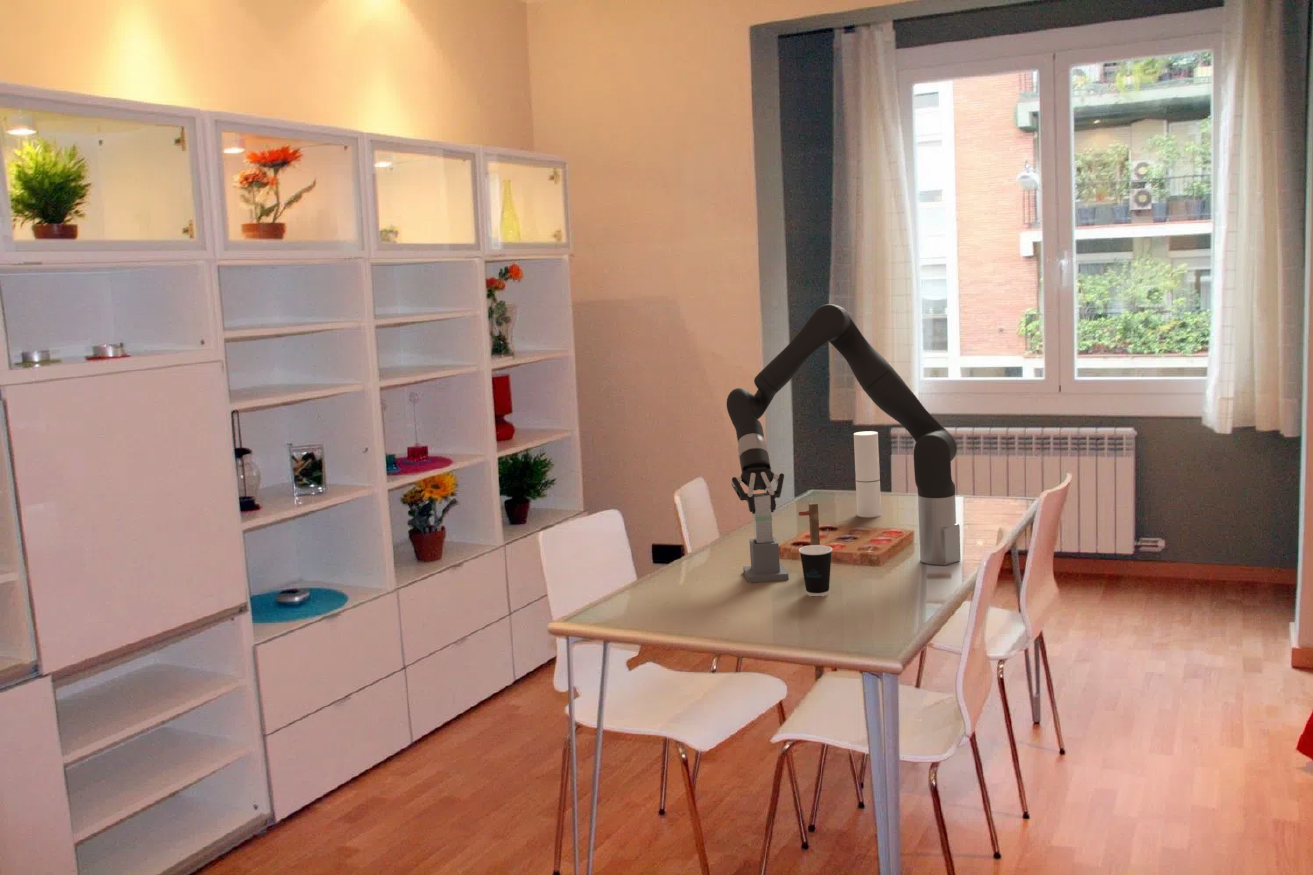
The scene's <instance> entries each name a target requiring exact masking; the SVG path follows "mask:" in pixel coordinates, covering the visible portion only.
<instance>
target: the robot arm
mask: <svg viewBox="0 0 1313 875" xmlns="http://www.w3.org/2000/svg"><path fill="white" fill-rule="evenodd" d="M857 326H858V325H856V323H855V322H854V320H853V318H852V317H851V316H850V314H849V312H848V311H847V310H846V309H845V308H844V307H842V306H841V305H837V304H831V303H826V304H821V305H820V306H819V307H818V308H816V309H815V311H814V312H813V313H812V314H811V316H810V318H809V319H808V320H807V321H806V323H805V324H804V326H803V327H802V328H801V329H800V331H799V332H798V333H797V334H796V336H795V337H794V338H793V339H792V340H791V341H790V342H789V343H788V345H786V347H785V348H784V349H783V350H782V351H780V353H778V354H777V355H776V356H775V357H774V358H773V359H772V360H771V361H770V362H769V363H768V364H767V365H766V366H765V367H764V368H762V369H761V370H760V372H759V373H757V374H756V376H755V377H754V379H753V382H754V385H755V387H756V388H757V390H756V392H755V394H753V393H751V392H750V391H748V390H746V388H742V387H738V388H734V389H732V390H731V392H730V393H729V394H728V395H727V398H726V411H727V413H728V416H729V417H730V420H731V423H732V425H733V427H734V429H735V432H736V433H735V434H736V439H737V445H738V446H737V452H738V458H739V464H740V470H741V474H740V476H739V477H736V476H733V477H732V478H731V486H732V488H733V490H734V492H735V494H736V495H737V496H738V498H739V500H740V501H741V502H743V501H746V502H747V506H748V511H749V512H750V513H751V514H752V515H753V514H755V511H756V509H755V504H754V498H753V497H752V496H753V494H754V491H758V490H761V491H762V490H763V491H764V493H768V494H769V495H770V499H771V513H774V511H775V510H776V507H777V504H776V499H777V498H778V499H779V498H781V495H782V490H783V485H784V480H785V474H784V473H779V474H777V473H774V471H772V467H771V463H770V462H771V461H770V455H769V450H768V445H767V443H766V440H765V434H764V430H763V425H762V423H761V421H760V420H759V419H760V418H761V417H762V416H763V415H764V414H765V413H766V410H767V409H768V408H769V406H770V404H771V402H772V400H773V399H774V397H775V396H776V394H778V392H779V391H781V389H782V388H784V387H785V386H786V385H787V384H788V383H789V382H790V381H791V380H792V379H793V377H794V376H795V375H796V374H797V373H798V372H799V370H800V369H801V367H802V366H803V365H804V364H805V362H806V361H808V359H809V358H810V357H811V356H812V355H813V354H814V353H815V352H816V351H817V350H818V349H821V347H823V345H825V344H827V343H828V342H829V343H830V344H831V345H832V346H833V347H834V348H835V349H836V350H837V351H838V352H839V353H840V355H842V357H843V358H844V359H845V361H846V362H847V365H849V367H850V369H851V371H852V374H853V375H854V376H855V379H856V381H857V382H858V383H859V386H860V387H861V388H862V390H863V391H864V392H865V393H866V395H867V396H868V397H869V398H870V400H872V401H873V402H872V403H874V404H875V405H876V406H877V407H878V408H879V409H880V410H881V411H883V413H885V414H886V415H887V416H889V417H891V418H892V419H894V420H895V421H896V422H898V423H899V424H900V425H901V426H902V427H903V428H904V429H905V430H906V431H907V433H908V434H909V435H910V436H911V437H912V438H913V440H914V441H915V443H914V447H913V469H914V471H913V472H914V481H915V482H914V483H915V486H916V488H917V508H918V513H917V514H918V531H919V532H918V533H919V534H918V535H919V538H918V539H919V560H920V562H921V563H924V564H927V565H936V566H937V565H938V566H940V565H941V566H948V565H951V564H954V563H957V562H959V561H961V533H960V532H961V531H960V530H961V528H960V527H961V526H960V524H959V523H957V511H956V508H957V506H956V505H957V504H956V485H955V482H954V481H953V478H952V463H951V462H952V461H953V460H954V459H955V457H956V455H957V451H958V450H957V449H958V446H957V443H956V439H955V438H954V436H953V435H952V434H951V433H950V432H949V431H948V430H947V429H946V428H945V427H944V426H943V425H942V424H941V423H940V422H938V420H937V419H936V418H935V417H933V416H932V414H931V413H930V412H929V411H928V410H927V409H926V408H925V407H924V405H923V404H922V403H921V402H920V400H919V399H918V397H917V395H915V394H914V392H913V391H912V390H911V389H910V388H909V387H908V385H907V384H906V382H905V381H904V380H903V378H901V376H900V374H898V372H897V371H896V370H895V369H894V367H893V366H892V365H890V363H889V362H888V361H887V360H886V359H885V358H884V357H883V356H882V354H881V353H879V352H878V351H877V349H875V347H874V346H872V345H871V343H870V342H869V341H868V340H867V338H866V337H865V336H864V335H863V333H862V332H861V331H860V329H859V327H857ZM773 480H774V482H775V483H776V485H777V486H776V490H774V489H773V486H772V484H771V483H772V482H773ZM742 483H743V484H744V485H745V486H746V487H747V488H748V491H747V492H745V491H744V489H743V487H742Z"/></svg>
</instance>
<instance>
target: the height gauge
mask: <svg viewBox="0 0 1313 875" xmlns="http://www.w3.org/2000/svg"><path fill="white" fill-rule="evenodd" d="M798 516H799V517H803V516H808V518H809V536H810V537H809V538H810V539H809V540H810V545H821V539H820V523H819V522H820V520H819V519H820V518H819V516H820V515H819V504H818V502H808V510H799V511H798Z"/></svg>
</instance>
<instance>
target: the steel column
mask: <svg viewBox="0 0 1313 875" xmlns="http://www.w3.org/2000/svg"><path fill="white" fill-rule="evenodd" d="M752 497H753V498H754V504H755V509H756V511H755V514H752V519H753V529H754V530H753V531H754V534H753V535H754V539H755V544H766V543H773V515H772V512H771V499H770V495H769V494H768V493H765V492H761V493H753V496H752Z"/></svg>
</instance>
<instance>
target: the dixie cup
mask: <svg viewBox="0 0 1313 875" xmlns="http://www.w3.org/2000/svg"><path fill="white" fill-rule="evenodd" d="M798 552H799V555H800V560H801V565H802V573H803V580H804V585H805V591H806V592H807V595H808V594H809V595H811V596H822V595H826V594H828V595H829V591H830V582H831V580H830V579H831V564H832V562H831V561H832V552H833V547H831V546H829V545H824V544H820V545H811V544H810V545H805V546H802V547H800V548H799V549H798ZM811 596H810V597H811ZM826 596H827V595H826Z"/></svg>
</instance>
